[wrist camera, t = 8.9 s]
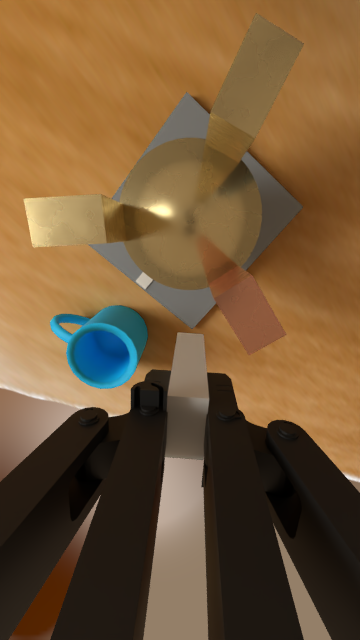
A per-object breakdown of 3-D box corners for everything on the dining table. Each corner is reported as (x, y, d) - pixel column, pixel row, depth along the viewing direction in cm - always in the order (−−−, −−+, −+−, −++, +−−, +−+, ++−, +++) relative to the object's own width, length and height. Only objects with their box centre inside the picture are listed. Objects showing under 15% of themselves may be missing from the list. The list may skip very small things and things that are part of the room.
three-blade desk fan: (65, 219, 27) (6, 212, 18) (248, 81, 23) (281, -8, 15) (164, 359, 31) (154, 407, 22) (335, 259, 27) (402, 270, 19)
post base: (186, 97, 32) (185, 46, 23) (309, 217, 35) (348, 211, 26) (85, 239, 37) (53, 241, 28) (201, 334, 40) (204, 361, 31)
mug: (157, 319, 39) (148, 340, 32) (135, 368, 42) (122, 399, 34) (75, 283, 38) (45, 296, 31) (57, 335, 41) (25, 359, 33)
